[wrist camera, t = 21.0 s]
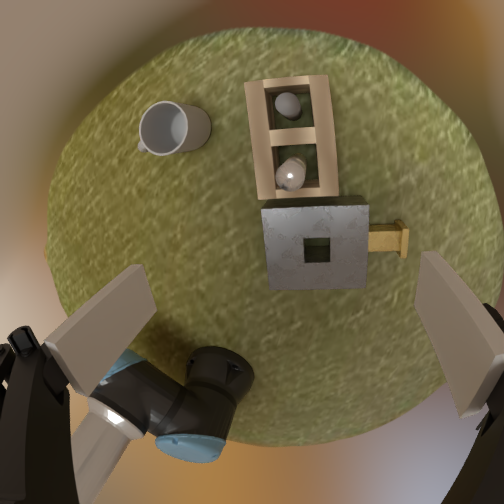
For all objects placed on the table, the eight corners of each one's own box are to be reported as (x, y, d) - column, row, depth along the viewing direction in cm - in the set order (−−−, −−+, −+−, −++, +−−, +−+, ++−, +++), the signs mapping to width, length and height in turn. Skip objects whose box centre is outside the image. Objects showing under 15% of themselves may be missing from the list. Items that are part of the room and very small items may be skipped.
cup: (220, 137, 39) (197, 138, 31) (167, 166, 42) (137, 174, 34) (200, 97, 37) (174, 90, 29) (150, 128, 40) (117, 130, 32)
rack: (266, 189, 41) (253, 205, 32) (255, 91, 35) (237, 77, 26) (334, 186, 39) (341, 201, 30) (324, 85, 33) (329, 68, 24)
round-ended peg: (289, 171, 39) (276, 192, 25) (288, 153, 38) (273, 163, 24) (307, 170, 39) (305, 190, 24) (306, 152, 38) (303, 162, 23)
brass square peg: (338, 248, 42) (340, 260, 38) (338, 221, 40) (341, 230, 36) (398, 246, 40) (406, 257, 36) (400, 219, 38) (409, 228, 34)
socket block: (274, 271, 46) (269, 289, 41) (267, 199, 41) (260, 209, 36) (359, 269, 43) (365, 287, 37) (361, 195, 38) (369, 205, 33)
